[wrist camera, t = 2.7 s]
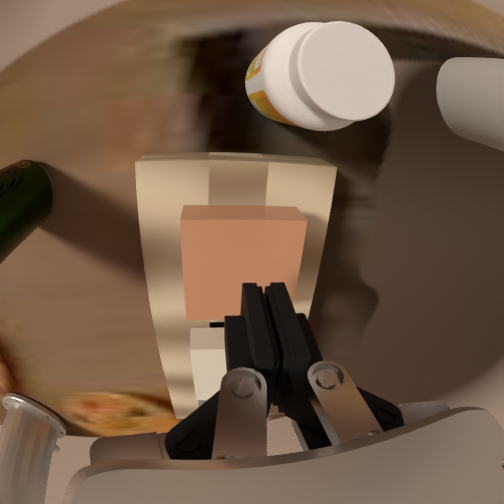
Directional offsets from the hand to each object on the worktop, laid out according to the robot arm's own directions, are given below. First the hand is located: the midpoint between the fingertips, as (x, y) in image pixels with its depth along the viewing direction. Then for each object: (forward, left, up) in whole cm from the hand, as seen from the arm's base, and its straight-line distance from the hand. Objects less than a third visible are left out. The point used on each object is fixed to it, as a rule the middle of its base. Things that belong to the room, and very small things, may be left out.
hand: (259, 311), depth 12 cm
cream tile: (-9, 0, -7) cm, 11 cm away
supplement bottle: (+10, -3, -11) cm, 15 cm away
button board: (-9, 0, -10) cm, 14 cm away
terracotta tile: (0, 0, -7) cm, 7 cm away
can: (+13, -19, -11) cm, 25 cm away
